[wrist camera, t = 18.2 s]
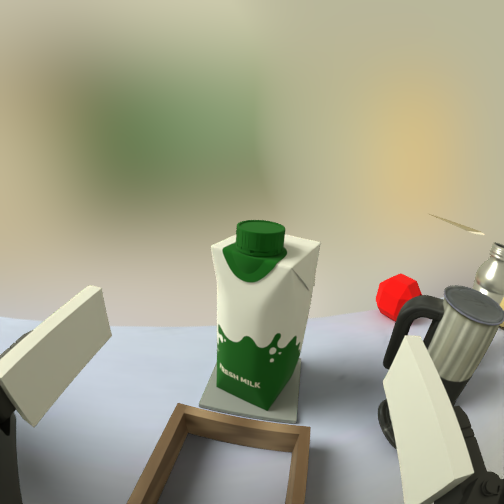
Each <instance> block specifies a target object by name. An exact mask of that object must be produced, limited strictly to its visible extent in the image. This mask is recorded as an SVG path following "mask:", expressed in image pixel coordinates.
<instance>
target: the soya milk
mask: <svg viewBox="0 0 504 504" xmlns="http://www.w3.org/2000/svg"><path fill="white" fill-rule="evenodd" d="M319 249H320V242H316V241H312V240H307V239H303V238H299V237H295V236H290V235H286V234H285V227H284V226H282V225H281V224H278V223H275V222H270V221H264V220H247V221H242V222H240V223H238V224H237V230H236V235H234V236H232V237H230V238H227V239H225V240H223V241H220V242H218V243H216V244H214V245H212V246H211V251H212V257H213V262H214V268H215V273H216V277H217V381H216V387H218V388H220V389H222V390H224V391H226V392H228V393H230V394H232V395H234V396H236V397H238V398H240V399H242V400H244V401H246V402H248V403H251V404H253V405H255V406H257V407H259V408H262V409H264V410H266V411H268V410H269V408H270V407H271V406H272V404H273V403H274V401H275V400H276V398H277V397H278V396H279V394H280V393H281V391H282V390H283V388H284V387H285V385H286V384H287V382H288V381H289V380H290V378H291V377H292V375H293V373H294V370H295V367H296V365H297V362H298V360H299V356H300V352H301V348H302V344H303V339H304V334H305V329H306V324H307V319H308V314H309V309H310V304H311V298H312V290H313V286H314V285H315V273H316V267H317V261H318V255H319Z"/></svg>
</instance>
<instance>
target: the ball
mask: <svg viewBox="0 0 504 504" xmlns="http://www.w3.org/2000/svg"><path fill="white" fill-rule="evenodd" d="M420 295H422V294H421V291H420V289H419V286H418V283H417V281H415V280H413V279H411V278H409V277H407V276H405V275H403V274H398V275H396V276H393V277H391V278H389V279H387V280H385V281H383V282H381V283H380V285H379V289H378V292H377V296H376V302H377V306H378V308H379V310H380V312H381V313H382V314H384V315H385V316H387V317H389V318H390V319H392V320H394V321H395V322H396V320H397V316H398V314H399V312H400V310H401V308H402V307H403V305H404V304H405V303H406V302H407V301H409V300H410V299H412V298H414V297H416V296H420Z"/></svg>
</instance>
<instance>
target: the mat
mask: <svg viewBox="0 0 504 504" xmlns="http://www.w3.org/2000/svg"><path fill="white" fill-rule="evenodd" d="M300 368H301V358H299V360H298V362H297V365H296V367H295V370H294V373H293V375H292V377H291V378H290V380H289V381H288V382H287V384H286V385H285V387H284V388H283V390H282V391H281V393H280V394H279V396H278V397H277V398H276V400H275V401H274V403H273V404H272V406H271V407H270V408H269V410H268V411H266V410H264V409H262V408H259V407H257V406H255V405H253V404H251V403H248V402H246V401H244V400H242V399H240V398H238V397H236V396H234V395H232V394H230V393H228V392H226V391H224V390H222V389H220V388H218V387H216V381H217V363H216V365H215V367H214V370H213V372H212V374H211V377H210V379H209V381H208V384H207V386H206V388H205V391H204V393H203V395H202V398H201V400H200V402H199V407H202V408H206V409H210V410H214V411H219V412H223V413H228V414H233V415H238V416H244V417H249V418H255V419H262V420H268V421H276V422H283V423H292V424H295V423H296V418H297V408H298V396H299V383H300Z"/></svg>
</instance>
